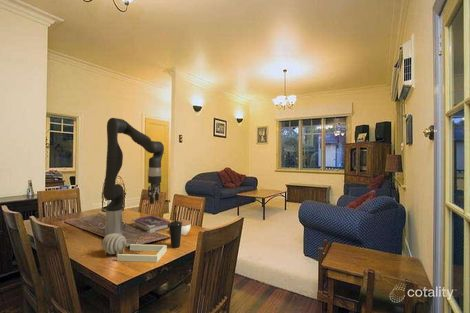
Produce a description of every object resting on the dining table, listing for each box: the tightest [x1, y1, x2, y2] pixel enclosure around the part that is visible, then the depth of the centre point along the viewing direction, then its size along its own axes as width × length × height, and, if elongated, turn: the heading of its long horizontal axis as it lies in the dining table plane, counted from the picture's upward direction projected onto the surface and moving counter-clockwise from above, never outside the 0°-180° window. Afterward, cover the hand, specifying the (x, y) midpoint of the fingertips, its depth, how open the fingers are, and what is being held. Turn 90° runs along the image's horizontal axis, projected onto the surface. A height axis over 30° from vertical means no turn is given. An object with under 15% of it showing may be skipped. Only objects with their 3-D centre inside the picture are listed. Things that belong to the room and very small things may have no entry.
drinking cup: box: [168, 211, 182, 249], centre depth 145 cm, size 8×8×20 cm
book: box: [131, 215, 171, 234], centre depth 183 cm, size 25×16×5 cm, turn 47°
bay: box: [116, 243, 168, 263], centre depth 133 cm, size 20×14×3 cm
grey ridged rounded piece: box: [100, 233, 130, 258], centre depth 134 cm, size 11×17×11 cm, turn 78°
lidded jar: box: [177, 218, 192, 236], centre depth 168 cm, size 11×11×9 cm
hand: (154, 202), depth 150 cm, fingers open, 8 cm apart
